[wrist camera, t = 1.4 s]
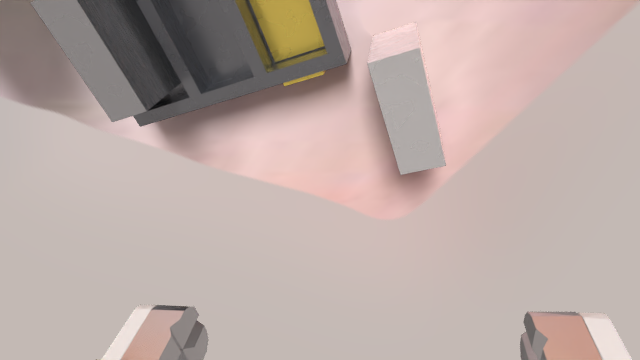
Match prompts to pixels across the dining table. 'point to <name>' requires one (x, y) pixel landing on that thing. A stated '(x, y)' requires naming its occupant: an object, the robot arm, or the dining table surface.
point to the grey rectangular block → (406, 98)
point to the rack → (192, 49)
